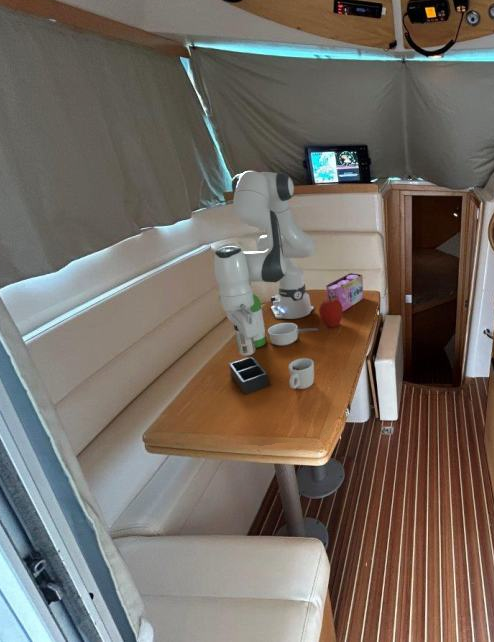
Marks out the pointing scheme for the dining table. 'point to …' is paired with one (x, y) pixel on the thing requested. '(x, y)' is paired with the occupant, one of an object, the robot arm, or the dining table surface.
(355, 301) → the gum box
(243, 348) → the beer can
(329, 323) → the apple
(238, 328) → the robot arm
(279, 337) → the saucepan
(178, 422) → the dining table surface
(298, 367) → the cup
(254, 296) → the bottle
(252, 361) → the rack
